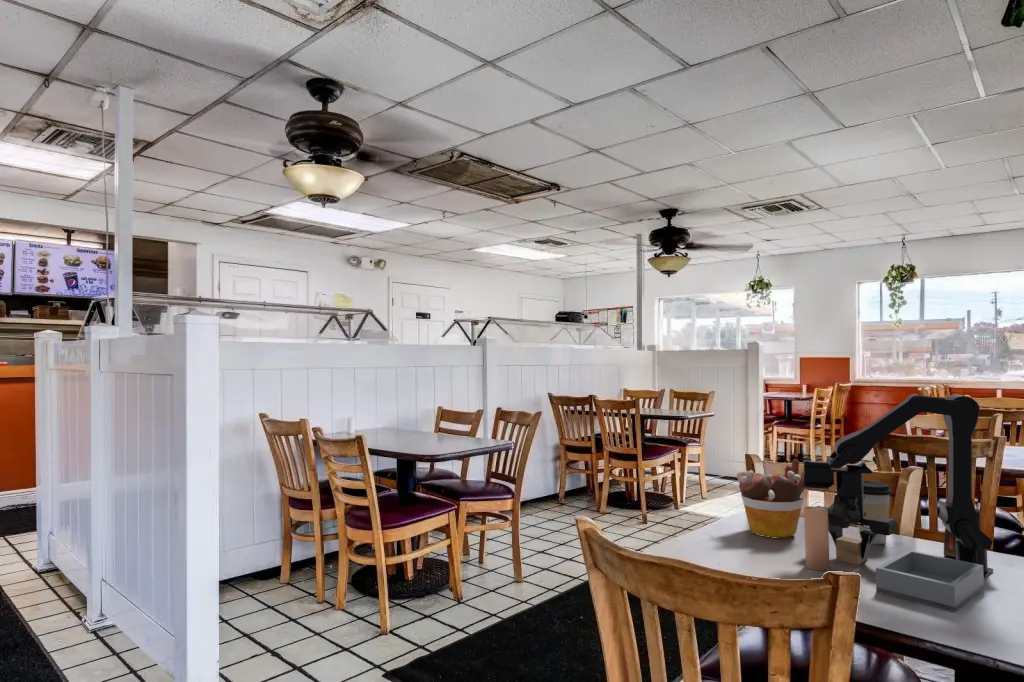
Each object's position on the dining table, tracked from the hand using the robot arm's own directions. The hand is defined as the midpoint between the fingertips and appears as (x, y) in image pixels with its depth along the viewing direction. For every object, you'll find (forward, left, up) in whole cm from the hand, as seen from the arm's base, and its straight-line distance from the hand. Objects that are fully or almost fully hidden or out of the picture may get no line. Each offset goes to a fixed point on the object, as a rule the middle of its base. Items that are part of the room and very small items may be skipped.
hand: (851, 555), depth 151 cm
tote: (+8, +19, -1) cm, 21 cm away
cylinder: (+11, -3, -1) cm, 11 cm away
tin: (-24, +14, -1) cm, 28 cm away
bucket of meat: (-8, -24, -1) cm, 25 cm away
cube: (0, 0, -1) cm, 1 cm away
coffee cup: (-20, -3, -1) cm, 20 cm away
